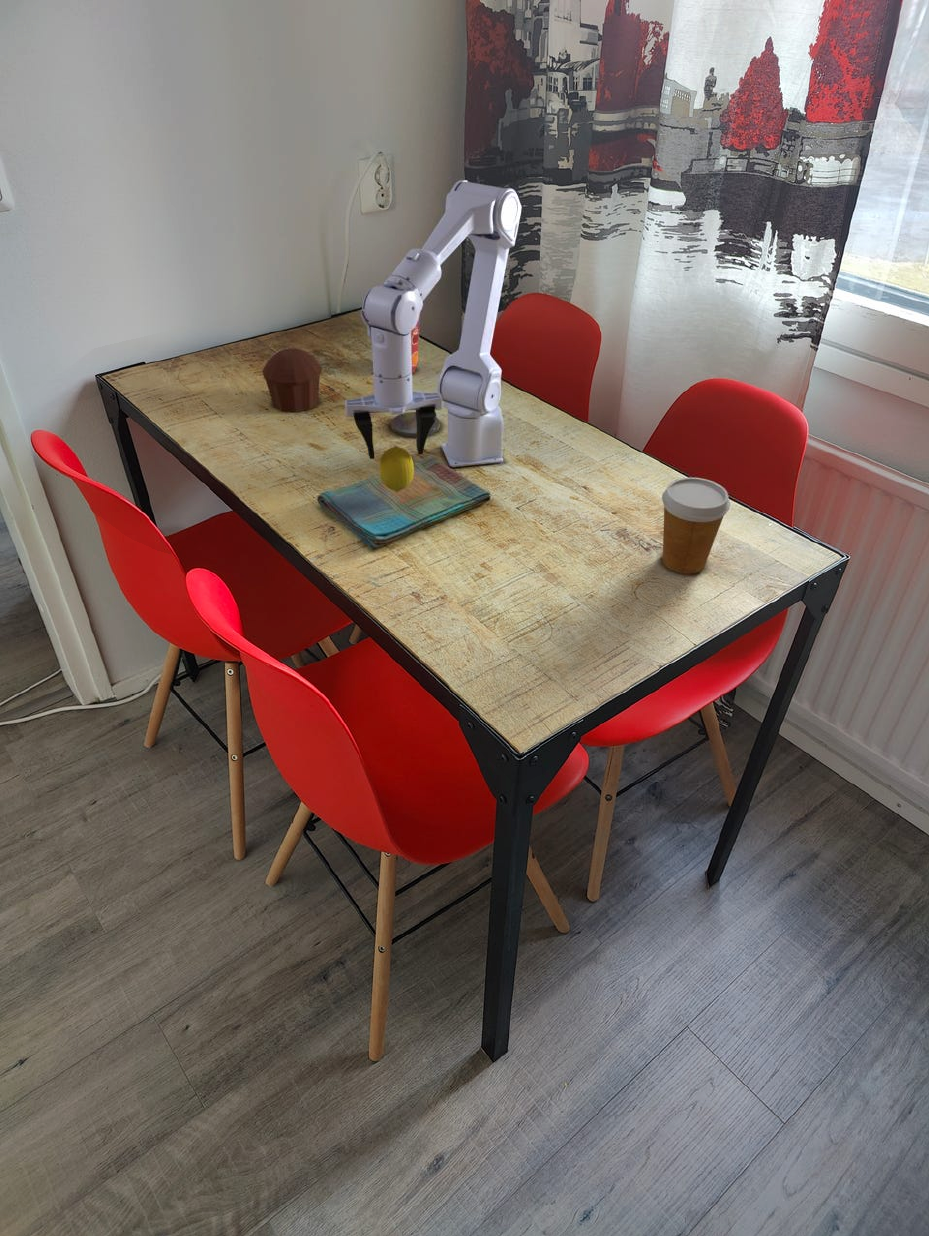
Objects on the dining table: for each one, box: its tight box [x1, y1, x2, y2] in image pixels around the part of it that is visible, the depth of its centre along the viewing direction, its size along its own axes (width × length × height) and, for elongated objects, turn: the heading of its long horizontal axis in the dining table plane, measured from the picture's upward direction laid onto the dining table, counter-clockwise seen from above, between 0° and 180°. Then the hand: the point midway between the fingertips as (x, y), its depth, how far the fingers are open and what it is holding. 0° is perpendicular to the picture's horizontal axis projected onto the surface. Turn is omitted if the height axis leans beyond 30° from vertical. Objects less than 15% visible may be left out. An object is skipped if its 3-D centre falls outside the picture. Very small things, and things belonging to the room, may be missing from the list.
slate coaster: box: [390, 411, 441, 438], centre depth 168 cm, size 9×9×1 cm
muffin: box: [262, 347, 323, 413], centre depth 173 cm, size 12×11×10 cm
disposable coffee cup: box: [661, 477, 731, 575], centre depth 131 cm, size 10×10×12 cm
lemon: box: [378, 445, 414, 492], centre depth 142 cm, size 6×6×8 cm
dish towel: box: [316, 456, 491, 550], centre depth 146 cm, size 17×23×2 cm
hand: (395, 453), depth 141 cm, fingers open, 7 cm apart
